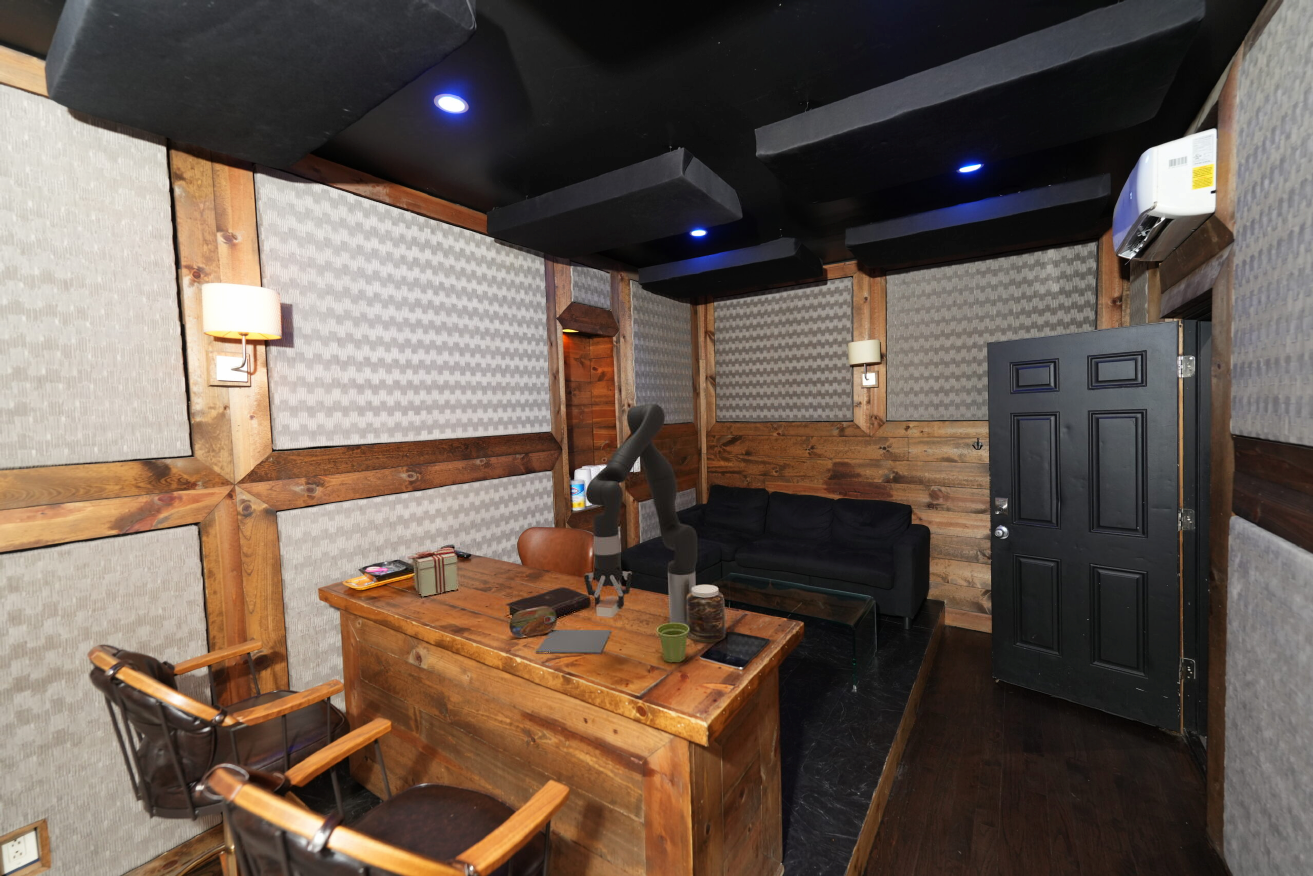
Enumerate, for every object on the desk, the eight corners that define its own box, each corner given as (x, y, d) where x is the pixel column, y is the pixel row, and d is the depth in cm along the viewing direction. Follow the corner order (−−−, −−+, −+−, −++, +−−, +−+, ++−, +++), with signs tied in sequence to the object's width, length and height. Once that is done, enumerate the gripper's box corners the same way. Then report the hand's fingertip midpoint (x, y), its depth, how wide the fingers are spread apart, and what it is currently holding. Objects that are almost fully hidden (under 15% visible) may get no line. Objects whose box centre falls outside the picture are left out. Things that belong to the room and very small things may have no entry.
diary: (591, 608, 197) (591, 595, 197) (535, 630, 179) (534, 616, 178) (560, 597, 210) (560, 585, 209) (504, 617, 191) (504, 603, 191)
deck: (622, 607, 155) (622, 597, 155) (611, 617, 147) (611, 606, 147) (608, 605, 156) (608, 595, 156) (596, 616, 149) (596, 605, 149)
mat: (611, 631, 173) (611, 630, 173) (600, 654, 157) (600, 652, 157) (552, 631, 175) (552, 629, 175) (535, 653, 159) (535, 651, 159)
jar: (714, 625, 175) (713, 580, 174) (732, 638, 164) (730, 591, 163) (682, 632, 171) (680, 586, 170) (697, 646, 160) (695, 597, 159)
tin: (510, 640, 169) (508, 614, 169) (510, 637, 172) (508, 611, 172) (558, 631, 173) (555, 606, 173) (557, 627, 176) (554, 603, 176)
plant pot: (651, 659, 153) (649, 629, 152) (673, 648, 159) (672, 619, 159) (674, 669, 146) (673, 638, 146) (697, 657, 153) (696, 628, 152)
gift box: (446, 580, 237) (444, 542, 236) (461, 589, 223) (459, 549, 222) (406, 589, 226) (403, 549, 225) (419, 600, 212) (416, 557, 211)
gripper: (632, 546, 155) (635, 603, 156) (583, 548, 155) (586, 604, 156) (631, 552, 147) (634, 612, 148) (579, 554, 147) (582, 614, 148)
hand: (609, 608), depth 152 cm, fingers closed on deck, 5 cm apart
